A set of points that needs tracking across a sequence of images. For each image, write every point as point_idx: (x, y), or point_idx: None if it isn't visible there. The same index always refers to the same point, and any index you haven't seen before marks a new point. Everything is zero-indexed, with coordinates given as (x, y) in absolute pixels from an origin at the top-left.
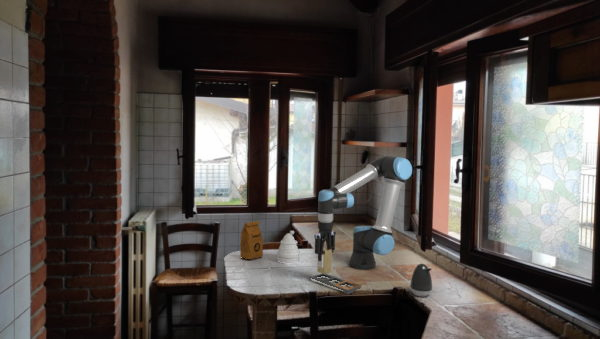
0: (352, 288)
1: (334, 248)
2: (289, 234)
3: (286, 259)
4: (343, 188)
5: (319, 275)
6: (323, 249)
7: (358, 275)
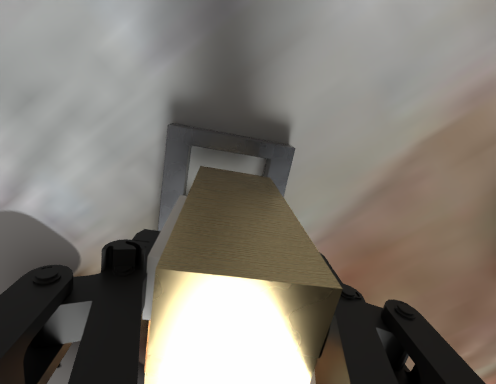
0: None
1: (397, 376)
2: None
3: None
4: None
5: (235, 152)
6: (199, 349)
7: (409, 262)
